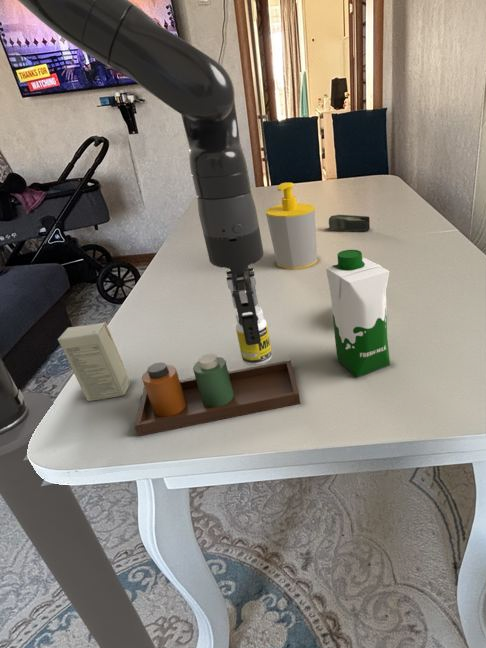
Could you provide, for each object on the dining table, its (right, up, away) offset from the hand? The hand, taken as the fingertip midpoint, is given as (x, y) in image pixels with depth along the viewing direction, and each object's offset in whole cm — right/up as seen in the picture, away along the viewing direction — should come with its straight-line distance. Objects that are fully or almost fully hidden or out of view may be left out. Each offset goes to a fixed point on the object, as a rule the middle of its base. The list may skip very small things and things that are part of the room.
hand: (252, 334), depth 73 cm
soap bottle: (-2, +22, +60) cm, 64 cm away
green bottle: (-7, -10, +4) cm, 13 cm away
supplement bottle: (0, -4, +2) cm, 5 cm away
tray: (-6, -11, +4) cm, 13 cm away
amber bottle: (-14, -12, +2) cm, 18 cm away
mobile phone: (+11, +37, +83) cm, 91 cm away
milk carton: (+17, -5, +12) cm, 21 cm away
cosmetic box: (-27, -10, +8) cm, 30 cm away
